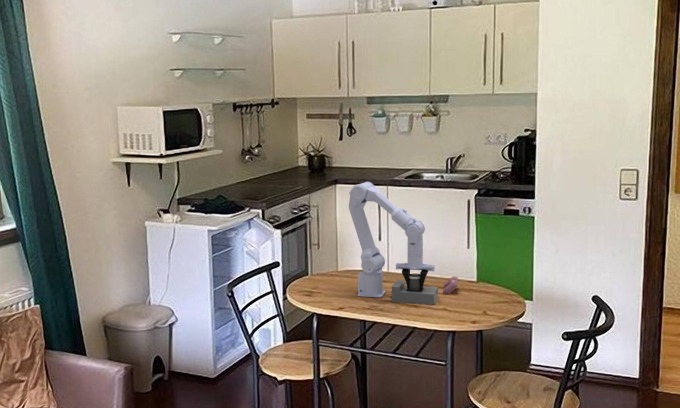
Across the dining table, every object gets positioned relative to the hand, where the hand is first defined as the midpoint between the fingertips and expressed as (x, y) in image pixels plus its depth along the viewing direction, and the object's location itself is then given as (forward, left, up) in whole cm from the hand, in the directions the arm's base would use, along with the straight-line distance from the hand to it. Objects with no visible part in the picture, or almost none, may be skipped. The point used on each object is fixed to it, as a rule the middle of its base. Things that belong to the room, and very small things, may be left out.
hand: (415, 288), depth 265 cm
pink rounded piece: (+12, +15, -5) cm, 19 cm away
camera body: (0, 0, -4) cm, 4 cm away
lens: (0, 0, -2) cm, 3 cm away
